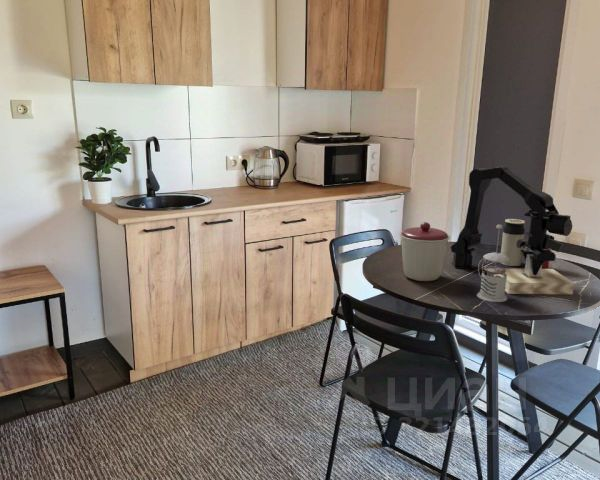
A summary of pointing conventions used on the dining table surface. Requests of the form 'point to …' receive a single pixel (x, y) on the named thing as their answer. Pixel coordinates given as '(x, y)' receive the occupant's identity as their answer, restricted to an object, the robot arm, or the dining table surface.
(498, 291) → the french press
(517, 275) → the hole block
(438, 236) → the canister
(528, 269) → the steel peg
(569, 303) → the dining table surface
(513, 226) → the travel mug
